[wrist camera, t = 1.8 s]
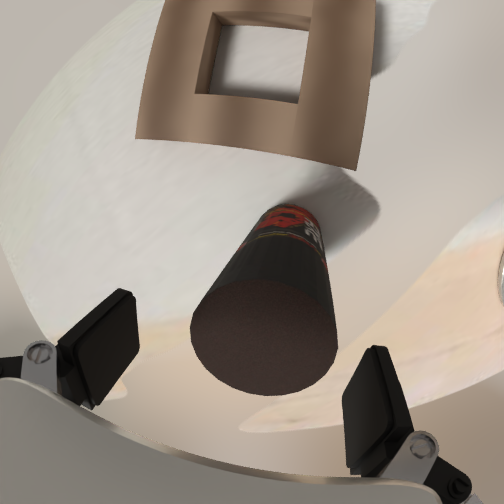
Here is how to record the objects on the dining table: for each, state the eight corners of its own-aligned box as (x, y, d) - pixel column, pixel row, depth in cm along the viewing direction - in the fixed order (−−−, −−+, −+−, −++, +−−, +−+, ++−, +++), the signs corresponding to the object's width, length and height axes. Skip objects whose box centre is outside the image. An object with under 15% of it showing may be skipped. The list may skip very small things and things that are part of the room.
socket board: (369, 12, 15) (375, -3, 13) (349, 169, 21) (356, 171, 18) (182, -2, 18) (170, -14, 15) (152, 139, 23) (135, 138, 21)
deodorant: (243, 250, 25) (174, 358, 12) (272, 192, 23) (221, 248, 9) (301, 279, 25) (289, 410, 11) (333, 224, 23) (368, 323, 9)
